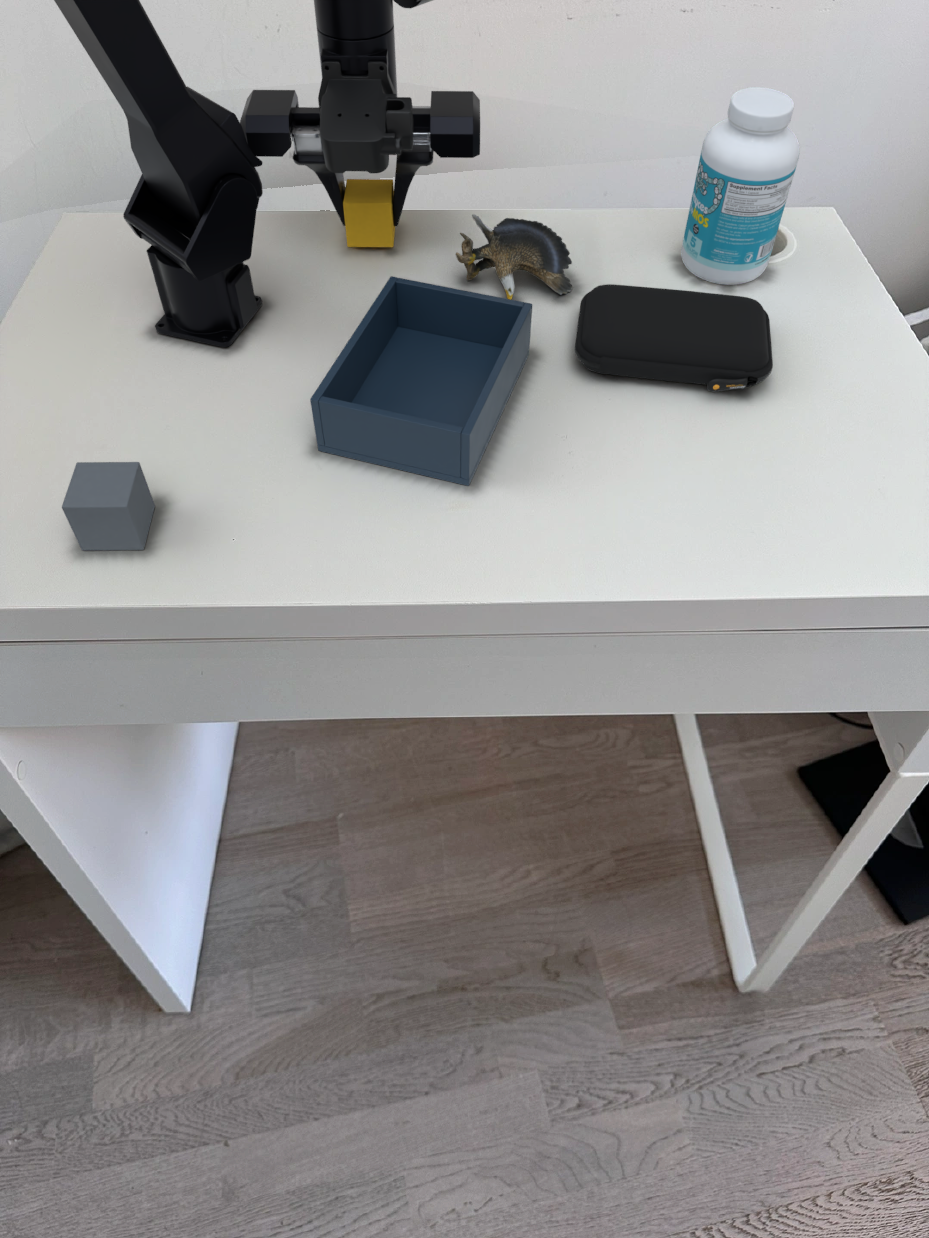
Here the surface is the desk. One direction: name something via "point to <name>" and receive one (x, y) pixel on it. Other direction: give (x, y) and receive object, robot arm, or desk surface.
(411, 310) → the dark blue open box
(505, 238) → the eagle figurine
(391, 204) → the mustard yellow block
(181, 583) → the desk surface
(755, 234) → the pill bottle
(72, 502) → the slate grey cube
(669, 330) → the carrying case
